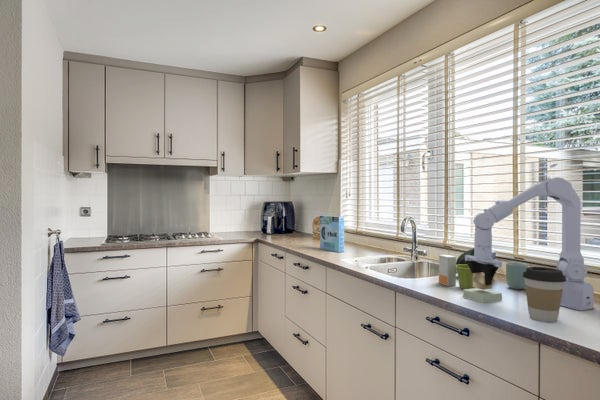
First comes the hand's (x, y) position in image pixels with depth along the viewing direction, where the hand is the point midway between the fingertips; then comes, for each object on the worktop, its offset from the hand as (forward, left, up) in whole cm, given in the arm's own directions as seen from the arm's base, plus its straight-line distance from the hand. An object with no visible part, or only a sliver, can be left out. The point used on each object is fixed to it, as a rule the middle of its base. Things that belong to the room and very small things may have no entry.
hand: (482, 283), depth 141 cm
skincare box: (+22, -5, -6) cm, 23 cm away
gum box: (+125, -6, -6) cm, 125 cm away
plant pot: (+14, -8, -6) cm, 17 cm away
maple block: (0, 0, -2) cm, 2 cm away
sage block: (0, 0, -6) cm, 6 cm away
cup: (+6, -26, -6) cm, 27 cm away
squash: (+25, -24, -6) cm, 35 cm away
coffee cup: (-24, +2, -6) cm, 25 cm away
